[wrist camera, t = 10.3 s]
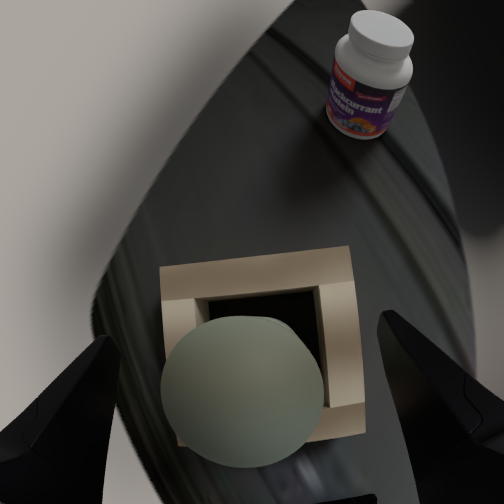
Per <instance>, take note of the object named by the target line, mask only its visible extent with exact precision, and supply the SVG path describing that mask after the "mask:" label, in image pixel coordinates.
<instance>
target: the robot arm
mask: <svg viewBox="0 0 504 504" xmlns="http://www.w3.org/2000/svg"><path fill="white" fill-rule="evenodd" d="M377 337H378V341H379V346H380V350H381V355H382V360H383V365H384V370H385V374H386V378H387V381H388V384H389V388H390V391H391V394H392V397H393V400H394V404H395V407H396V410H397V414H398V417H399V421H400V424H401V428H402V431H403V435H404V439H405V442H406V446H407V450H408V454H409V458H410V462H411V466H412V470H413V474H414V478H415V481H416V482H415V483H416V488H417V492H418V497H419V502H420V504H504V401H503V400H502V399H500V398H499V397H497V396H496V395H494V394H493V393H492V392H491V391H489V390H488V389H486V388H485V387H484V386H483V385H482V384H480V383H479V382H478V381H477V380H476V379H475V378H473V377H472V376H471V375H470V374H469V373H468V372H465V370H464V369H463V368H462V367H461V366H460V365H458V364H457V363H456V362H455V361H454V360H453V359H452V358H450V357H449V356H448V355H447V354H446V353H445V352H443V351H442V350H441V349H440V348H439V347H438V346H436V345H435V344H434V343H433V342H432V341H430V340H429V339H428V338H427V337H426V336H424V335H423V334H422V333H421V332H420V331H419V330H417V329H416V328H415V327H414V326H412V325H411V324H410V323H409V322H408V321H406V320H405V319H404V318H403V317H402V316H400V315H399V314H398V313H397V312H395V311H394V310H387V311H382V312H381V313H380V317H379V321H378V326H377ZM120 362H121V352H120V349H119V348H118V346H117V344H116V343H115V341H114V340H113V338H112V337H111V336H110V335H101V336H99V337H98V338H97V339H96V340H94V341H93V342H92V343H91V344H90V345H89V346H88V347H87V348H86V349H85V350H84V351H83V352H82V353H81V354H80V355H79V356H78V357H77V358H76V359H75V360H74V361H73V362H72V363H71V364H70V365H69V366H68V367H67V368H66V369H65V370H64V371H63V372H62V373H61V374H60V375H59V376H58V377H57V378H56V379H55V380H54V381H53V382H52V383H51V384H50V385H49V386H48V387H47V388H46V389H45V390H44V391H43V392H42V393H41V394H40V395H39V396H38V398H36V399H35V400H34V401H33V402H32V403H31V404H30V405H29V406H28V407H27V408H26V409H25V410H24V411H23V412H22V413H21V414H20V415H19V416H18V417H17V418H16V419H14V420H13V421H12V422H11V423H10V424H9V425H8V426H6V427H5V428H4V429H3V430H2V431H1V432H0V504H102V498H103V486H104V477H105V468H106V460H107V453H108V446H109V439H110V433H111V426H112V420H113V414H114V409H115V404H116V398H117V392H118V382H119V371H120ZM369 499H372V500H371V501H368V500H369ZM317 504H377V497H376V495H375V494H368V495H363V496H358V497H353V498H346V499H341V500H335V501H329V502H322V503H317Z"/></svg>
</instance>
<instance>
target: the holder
mask: <svg viewBox="0 0 504 504" xmlns="http://www.w3.org/2000/svg"><path fill="white" fill-rule="evenodd" d="M160 286H161V303H162V318H163V331H164V342H165V353H166V360H167V358H168V357H169V355H170V353H171V351H172V350H173V348H174V347H175V346H176V344H177V343H178V342H179V341H180V340H181V339H182V338H183V337H184V336H185V335H186V334H188V333H189V332H190V331H191V330H193V329H195V328H196V327H198V326H200V325H201V324H204V323H206V322H208V321H210V316H209V304H208V302H211V301H223V300H233V299H244V298H254V297H263V296H272V295H281V294H290V293H299V292H307V291H313V296H314V304H315V314H316V323H317V333H318V343H319V354H320V365H321V376H322V379H323V386H324V403H323V410H322V413H321V417H320V420H319V422H318V424H317V426H316V428H315V430H314V432H313V433H312V435H311V436H310V438H309V439H308V440H307V441H306V442H312V441H320V440H327V439H333V438H339V437H345V436H351V435H356V434H361V433H366V428H365V396H364V377H363V362H362V350H361V338H360V328H359V318H358V309H357V301H356V293H355V285H354V278H353V271H352V264H351V257H350V251H349V246H342V247H333V248H325V249H316V250H307V251H299V252H290V253H281V254H273V255H264V256H255V257H246V258H237V259H229V260H220V261H211V262H202V263H193V264H184V265H175V266H166V267H160ZM176 436H177V435H176ZM177 442H178V446H187V445H186V444H185V443H183V442H182V440H181V439H180V438H179V437H178V436H177ZM187 447H188V446H187Z"/></svg>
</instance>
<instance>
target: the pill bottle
mask: <svg viewBox="0 0 504 504" xmlns="http://www.w3.org/2000/svg"><path fill="white" fill-rule="evenodd" d="M413 41H414V36H413V33H412V32H411V30H410V29H409V28H408V27H407V26H406V25H405V24H404V23H403V22H402V21H400V20H399V19H397V18H395V17H393V16H391V15H388V14H386V13H383V12H379V11H373V10H364V11H359V12H357V13H355V14H354V15H353V16H352V17H351V21H350V26H349V30H348V34H347V35H345V36H344V37H342V38H341V39H340V40H339V42H338V43H337V45H336V49H335V54H334V62H333V68H332V74H331V81H330V86H329V92H328V97H327V104H326V111H327V115H328V118H329V120H330V122H331V123H332V124H333V125H334V126H335V127H336V128H337V129H338V130H339V131H340V132H342V133H343V134H345V135H347V136H350V137H353V138H356V139H365V140H366V139H373V138H376V137H378V136H380V135H381V134H382V133H383V132H384V131H385V130H386V129H387V127H388V125H389V123H390V121H391V119H392V117H393V115H394V113H395V111H396V109H397V107H398V105H399V103H400V101H401V99H402V96H403V94H404V92H405V90H406V88H407V86H408V84H409V81H410V79H411V76H412V72H413V66H412V62H411V59H410V58H409V52H410V50H411V47H412V44H413Z"/></svg>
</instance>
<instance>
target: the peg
mask: <svg viewBox="0 0 504 504" xmlns="http://www.w3.org/2000/svg"><path fill="white" fill-rule="evenodd" d="M160 389H161V400H162V405H163V409H164V412H165V415H166V418H167V420H168V422H169V424H170V426H171V427H172V429H173V430H174V432H175V433H176V435H177V436H178V437H179V438H180V439H181V440H182V442H183V443H185V444H186V445H187V446H188V447H189V448H190V449H191V450H193V451H194V452H196V453H197V454H198V455H200V456H202V457H204V458H206V459H208V460H210V461H212V462H215V463H218V464H221V465H225V466H230V467H236V468H253V467H261V466H265V465H269V464H272V463H275V462H278V461H280V460H282V459H284V458H286V457H288V456H289V455H291V454H292V453H294V452H295V451H297V450H298V449H299V448H300V447H301V446H302V445H303V444H304V443H305V442H306V441H307V440H308V439H309V438H310V436H311V435H312V433H313V432H314V430H315V428H316V426H317V424H318V422H319V420H320V417H321V413H322V410H323V403H324V386H323V379H322V376H321V373H320V369H319V367H318V365H317V363H316V361H315V359H314V357H313V356H312V354H311V353H310V351H309V350H308V349H307V347H306V346H305V345H304V344H303V342H302V341H301V340H300V339H299V337H298V336H297V335H296V334H295V333H294V331H293V330H292V329H291V328H290V327H289V326H288V325H287V324H286V323H284V322H282V321H281V320H278V319H275V318H271V317H253V316H229V317H223V318H218V319H215V320H211V321H208V322H206V323H204V324H201V325H200V326H198V327H196V328H195V329H193V330H191V331H190V332H189V333H188V334H186V335H185V336H184V337H183V338H182V339H181V340H180V341H179V342H178V343H177V344H176V346H175V347H174V348H173V350H172V351H171V353H170V355H169V357H168V358H167V360H166V363H165V366H164V369H163V373H162V377H161V388H160Z"/></svg>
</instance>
